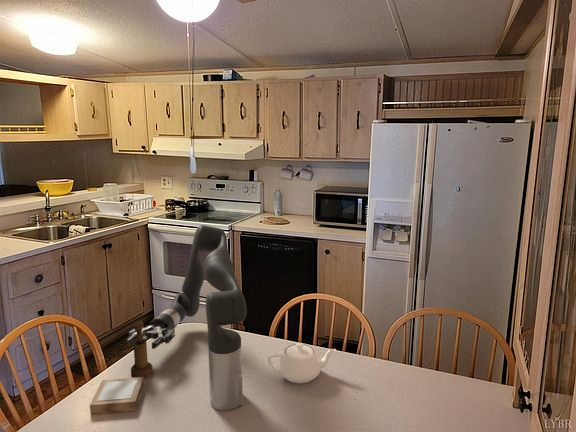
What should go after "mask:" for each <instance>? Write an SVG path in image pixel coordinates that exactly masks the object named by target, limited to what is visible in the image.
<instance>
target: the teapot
mask: <svg viewBox="0 0 576 432" xmlns="http://www.w3.org/2000/svg"><path fill="white" fill-rule="evenodd" d="M336 350H337V349H336V348H330V349H328V350H327V351H326V353H325V355H324V356H323V357H321V358H320V357H319V355H318V353H317V350H316V349H315V348H314V346H311V345H310V344H307V343H302V342H298V343H292V344H291V343H290V344H288V345H287V346H285V348H284V349H283V351H282V352H280V353H278V352H277V353H270V354H269V355H268V356H267V363H268V364H269V366H270V367H271V368H273V369H274V370H277V371H279V374H280V375H281V376H282V377H283V379H285V380H286V381H288V382H290V383H293V384H305V383H306V384H307V383H309V382H312V381H313V380H315V378H317V377H318V376H319V375H320V373H321V370H322V369H324V368H325V367H326V366H327V364H328V363H329V359H330V356H331V355H332V353H334V352H336ZM273 358H279V361H278V364H277V365H278V366H277V365H275V364H274V363H273V362H272V359H273Z"/></svg>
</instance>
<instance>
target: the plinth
mask: <svg viewBox="0 0 576 432" xmlns="http://www.w3.org/2000/svg"><path fill="white" fill-rule="evenodd" d="M144 388H145V378H144V377H136V378H133V377H125V378H115V379H113V378H112V379H103V380H101V382H100V384H99V387H98V388H97V390H96V392H95V393H94V396H93V399H92V400H91V403H90V404H89V410H90V411H89V412H90V416H93V415H94V416H95V415H106V414H117V413H119V414H120V413H128V412H129V413H130V412H137V409H138V407H139V403H140V400H141V398H142V394H143V391H144Z"/></svg>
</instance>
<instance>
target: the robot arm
mask: <svg viewBox="0 0 576 432" xmlns="http://www.w3.org/2000/svg"><path fill="white" fill-rule="evenodd" d="M200 251H203V252H208V255H207V256H206V257H205V258H204V261H203V265H202V263H201V258H200V253H201V252H200ZM187 265H188V267H187V271H186V273H185V274H186V275H185V277H184V280H183V282H182V286H181V291H182V292H180V293H177V294H175V296H174V298H173V299H172V302H171V304H170V305H169V307H167V308H166V309H164V310H163V311H162V312H160V313H159V314H158V315H156V316H155V317H154V318H152V320H151V321H150V323H149V325H147V326H145V327H143V329H142V331H141V332H142V334H143V339H145V340H147V339H152V340H153V341H152V342H151V349H152V350H153V349H156V348H158V347H159V346H160V345H162V344H164V343H165V344H170V343H171V341H173V339H174V338H175V336H176V330H175V329H176V327H177V326H178V325H179V324H180V323H181V322H182V321H184V319H185V318H186V317H189V318H191V317H194V316H195V315H196V314H198V312H199V309H200V296H201V290H202V286H203V284H204V280H205V279H206V281H207V282H208V284H209V285H210V286H212V287H213V288H214V289H217V290H218V291H214V292H209V293H208V294H207V295H206V297H205V314H206V315H205V316H206V324H207V325H206V326H207V343H208V344H207V345H208V371H209V372H208V375H209V376H208V377H209V379H208V380H209V400H210V405H211V407H212V408H213V409H214V410H217V411H218V410H219V411H231V410H234V409H236V408H237V407H241V406H244V402H243V401H244V399H243V397H244V396H243V393H244V392H243V368H242V366H243V365H242V337H241V335H240V333H239V332H237V331H235V330H232V329H230V328H225V327H223V326H228V325H235V324H240V323H242V322H243V321H245V319H246V317H247V314H248V313H247V310H248V309H247V303H246V299H245V296H244V293H243V291H242V290H241V287H240V285H239V283H238V279H237V278H236V272H235V269H234V268H235V267H234V265H233V261H232V260H231V256H230V252H229V248H228V241H227V235H226V233H225V231H224V230H223V229H222V228H219V227H215V226H210V225H205V224H200V225H198V227H197V228H196V230H195V232H194V235H193V239H192V245H191V251H190V254H189V259H188V264H187ZM136 334H137V332H136V331H135V329H134V328H133V329H131V330H130V331H128V335H129V337H128V338H127V339H126V343H127V346H128V347H131V346H132V345H133V342H134V341H136V340H137V339H136Z"/></svg>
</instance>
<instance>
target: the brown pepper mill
mask: <svg viewBox="0 0 576 432" xmlns="http://www.w3.org/2000/svg"><path fill="white" fill-rule="evenodd" d="M144 326H145V325H144V322H143V321H141V320H138V321H135V322H134V323H133V329H135V331H136V332H137V334H136V339H137V340H136V341H134V342H133V344H132V345H133V353H134V354H133V355H134V356H133V357H134V364H133V365H132V366H131V367H130V376H131V378H136V377H144V379H147V378H148V377H150V376H152V374H153V373H154V371H153V364H152V363H151V362H149V361H148V349H147V345H148V344H147V339H143V337H144V333H143V334H142V332H141V331H142V329H143V328H145V327H144Z"/></svg>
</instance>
